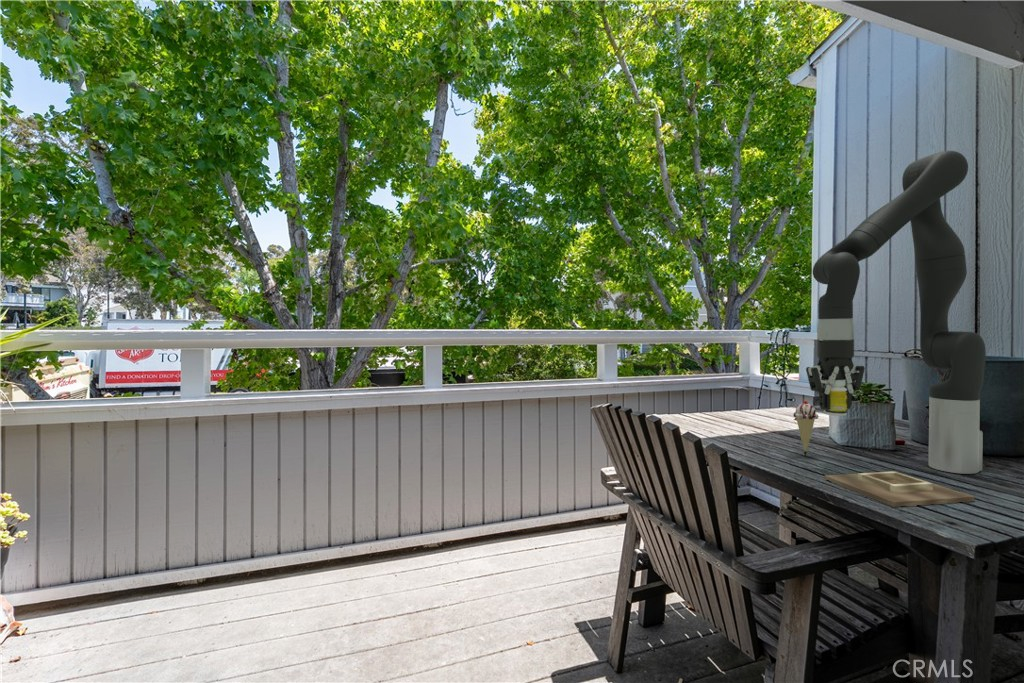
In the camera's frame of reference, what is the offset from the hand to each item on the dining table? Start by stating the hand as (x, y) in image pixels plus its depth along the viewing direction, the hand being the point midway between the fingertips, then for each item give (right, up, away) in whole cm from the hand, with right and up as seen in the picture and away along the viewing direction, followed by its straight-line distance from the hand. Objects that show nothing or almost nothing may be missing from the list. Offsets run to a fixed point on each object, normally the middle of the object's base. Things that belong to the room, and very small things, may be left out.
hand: (835, 408), depth 122 cm
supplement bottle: (0, -2, 0) cm, 2 cm away
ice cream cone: (+1, -15, +14) cm, 21 cm away
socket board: (+4, -16, -14) cm, 21 cm away
